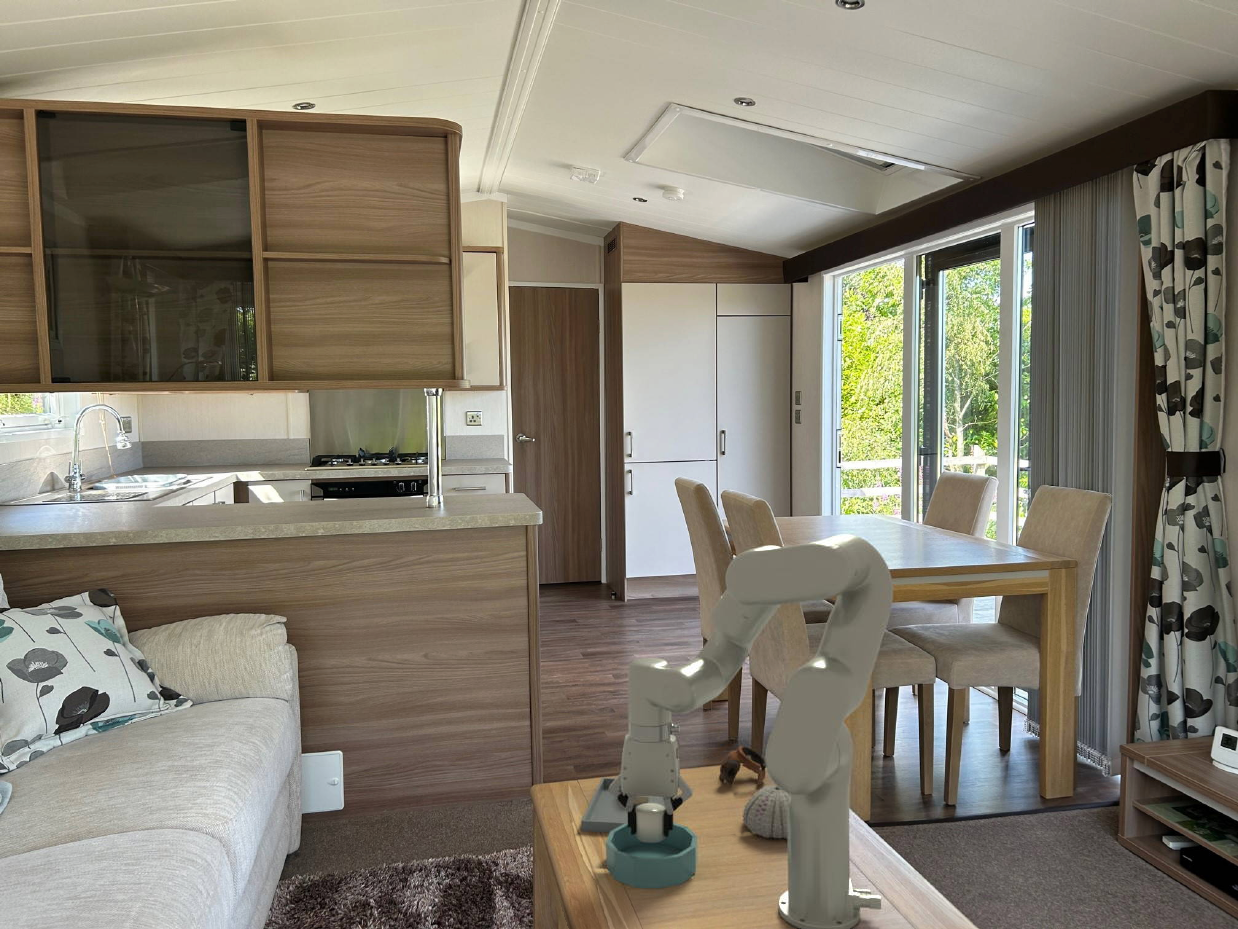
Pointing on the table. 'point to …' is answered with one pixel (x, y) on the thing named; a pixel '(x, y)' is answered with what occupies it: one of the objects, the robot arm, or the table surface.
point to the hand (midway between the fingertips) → (650, 831)
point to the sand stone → (641, 799)
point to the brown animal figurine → (733, 765)
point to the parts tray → (607, 809)
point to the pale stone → (650, 822)
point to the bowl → (652, 858)
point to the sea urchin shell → (767, 812)
